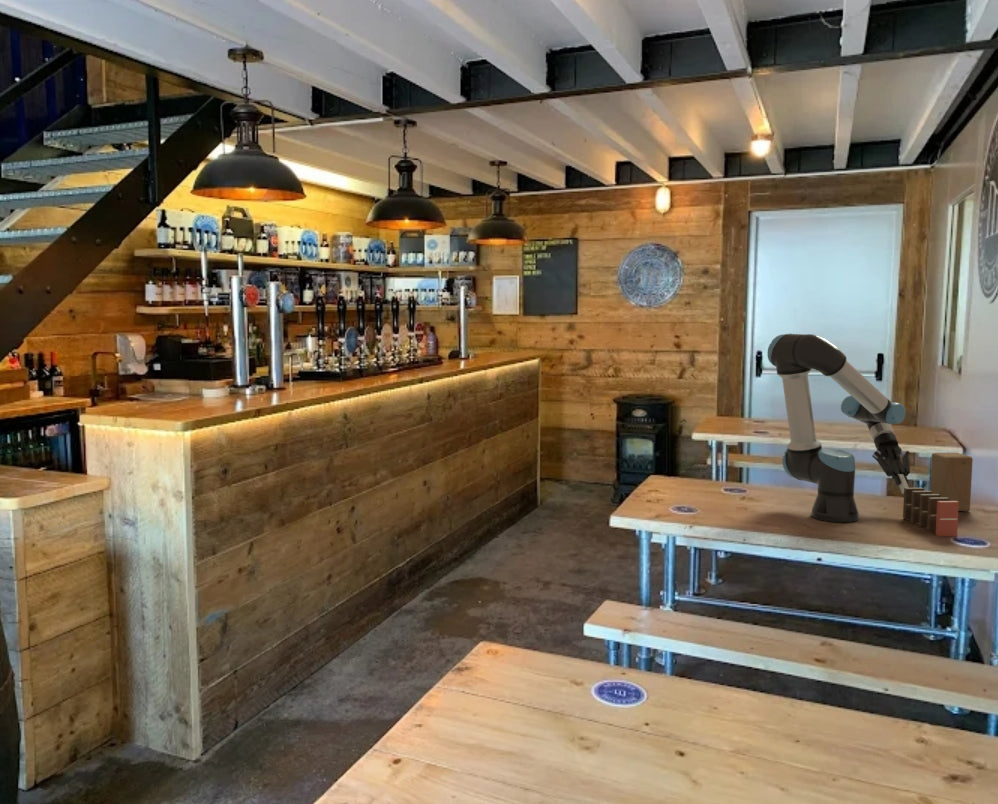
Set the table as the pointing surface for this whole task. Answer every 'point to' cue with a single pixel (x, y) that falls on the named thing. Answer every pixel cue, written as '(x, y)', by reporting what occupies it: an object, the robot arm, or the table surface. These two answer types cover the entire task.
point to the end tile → (947, 518)
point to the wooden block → (952, 477)
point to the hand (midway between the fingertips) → (905, 491)
